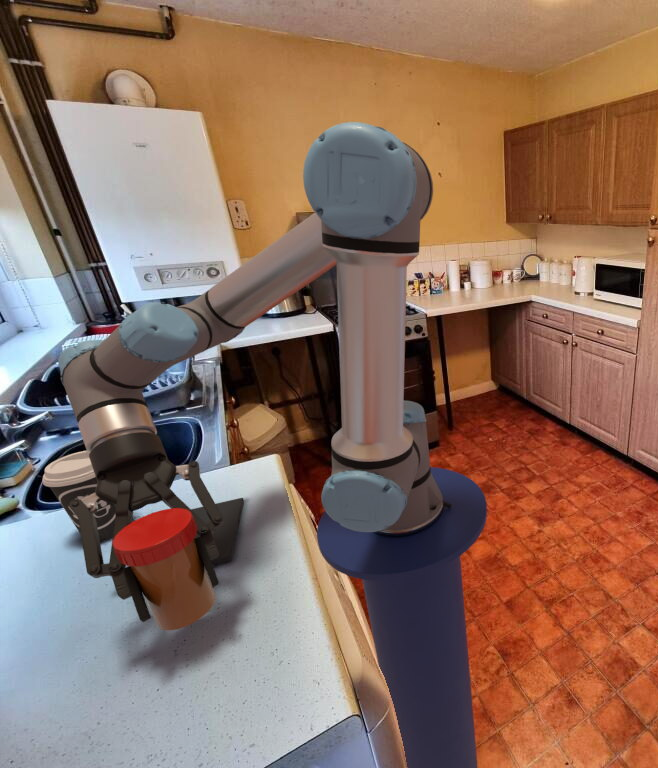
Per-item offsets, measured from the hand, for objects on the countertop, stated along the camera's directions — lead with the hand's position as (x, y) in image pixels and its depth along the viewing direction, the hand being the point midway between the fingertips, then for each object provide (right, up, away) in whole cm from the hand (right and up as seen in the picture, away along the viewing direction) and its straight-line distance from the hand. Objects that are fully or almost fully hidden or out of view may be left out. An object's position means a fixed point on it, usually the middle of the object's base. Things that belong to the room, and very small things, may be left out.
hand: (182, 600), depth 55 cm
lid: (-3, +9, -1) cm, 9 cm away
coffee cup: (-34, 0, +27) cm, 43 cm away
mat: (-16, -1, +23) cm, 29 cm away
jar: (-2, -3, +4) cm, 6 cm away
